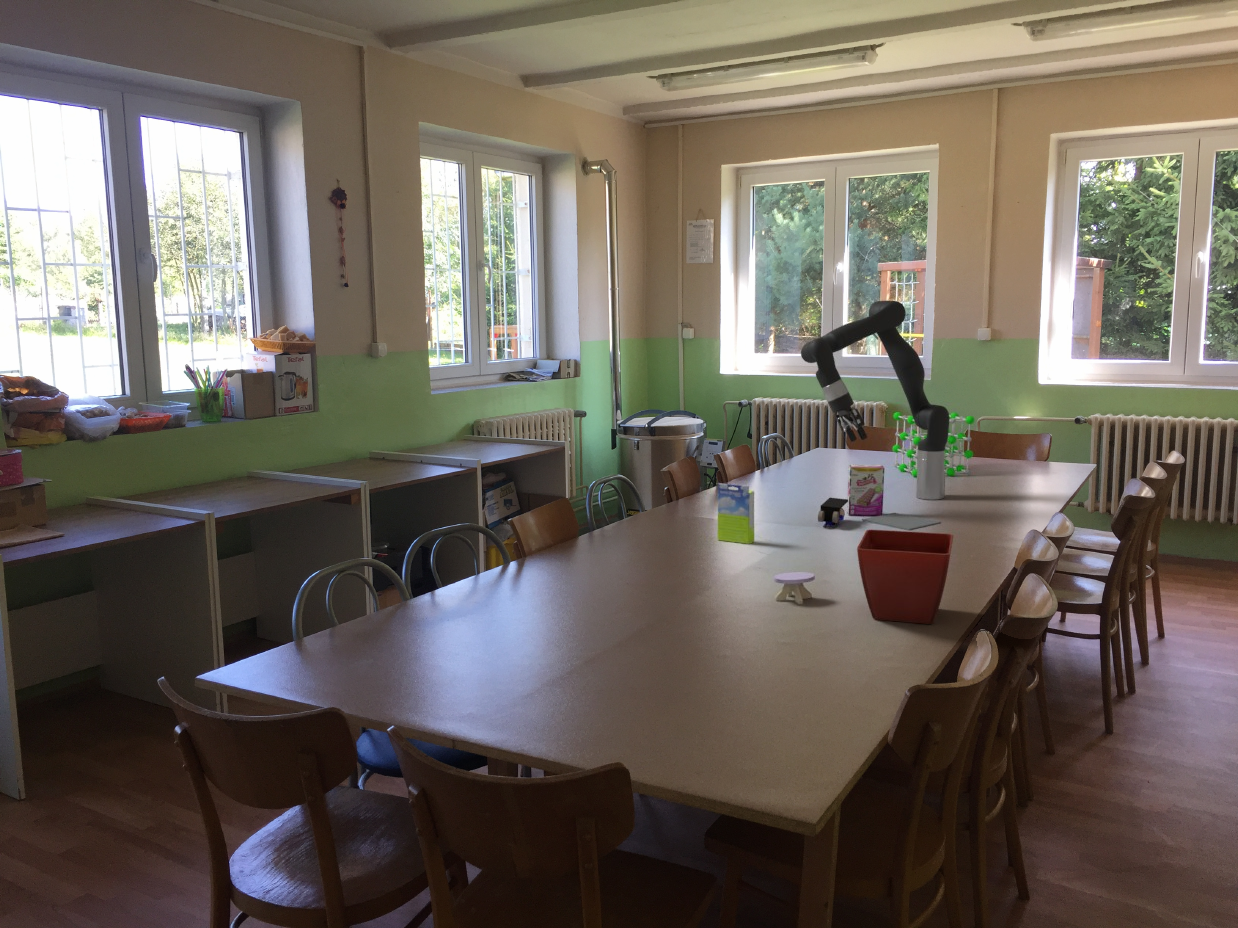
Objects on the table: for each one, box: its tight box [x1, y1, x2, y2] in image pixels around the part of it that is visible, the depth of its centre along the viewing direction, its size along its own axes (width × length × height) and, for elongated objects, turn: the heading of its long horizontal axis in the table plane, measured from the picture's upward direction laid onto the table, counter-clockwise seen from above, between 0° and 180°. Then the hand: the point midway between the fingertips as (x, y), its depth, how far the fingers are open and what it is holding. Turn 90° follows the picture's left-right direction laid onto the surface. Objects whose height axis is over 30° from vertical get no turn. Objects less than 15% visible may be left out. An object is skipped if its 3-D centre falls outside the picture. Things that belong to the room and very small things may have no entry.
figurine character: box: [817, 497, 848, 529], centre depth 307 cm, size 7×8×15 cm
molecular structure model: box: [892, 411, 975, 478], centre depth 399 cm, size 24×25×24 cm
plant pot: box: [856, 529, 954, 625], centre depth 216 cm, size 19×19×17 cm
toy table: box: [773, 571, 815, 605], centre depth 229 cm, size 10×9×6 cm
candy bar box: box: [846, 464, 885, 517], centre depth 320 cm, size 11×5×16 cm, turn 84°
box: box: [717, 482, 755, 545], centre depth 286 cm, size 10×4×17 cm, turn 58°
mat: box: [861, 512, 942, 531], centre depth 310 cm, size 16×18×1 cm
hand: (859, 440), depth 320 cm, fingers open, 8 cm apart
